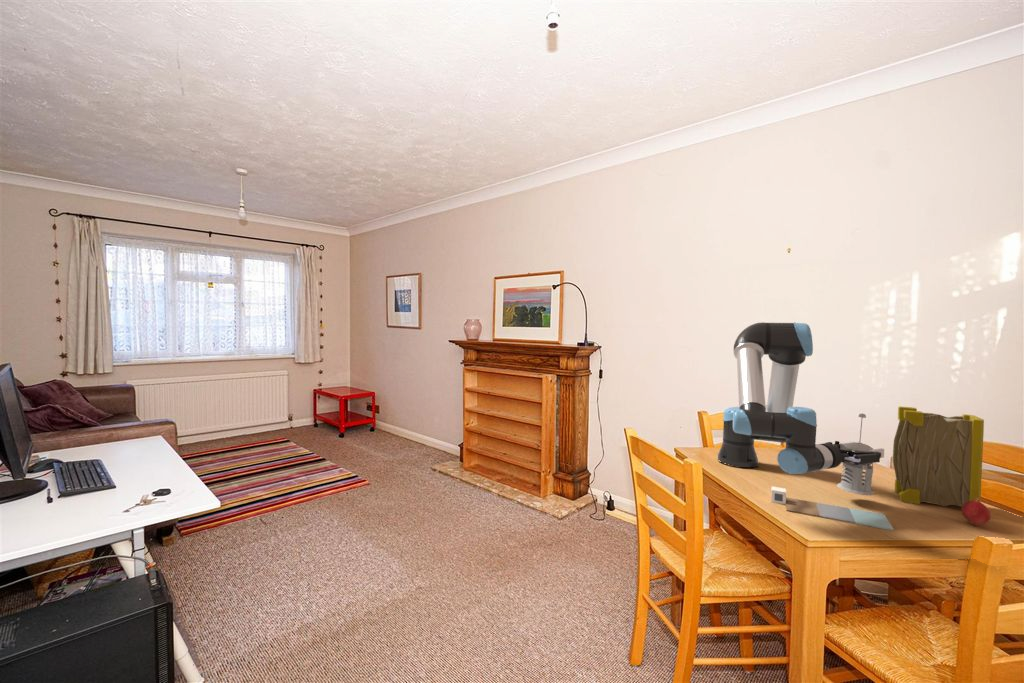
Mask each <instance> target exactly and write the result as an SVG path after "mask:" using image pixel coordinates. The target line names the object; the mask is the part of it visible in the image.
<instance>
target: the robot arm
mask: <svg viewBox="0 0 1024 683" xmlns="http://www.w3.org/2000/svg"><path fill="white" fill-rule="evenodd" d="M812 335H813V334H812V331H811V327H810V325H809V324H807V323H804V322H795V321H794V322H763V321H762V322H757V323H753V324H751V325H748V326H747V327H745V328H744V329H743V330H742V331H741V332H740V333H739V334H738V336H736V339H735V342H734V344H733V356H734V358H735V359H736V361H737V362H736V364H737V387H738V390H737V391H738V406H731V407H728V408H726V409H725V410H723V418H722V421H723V425H722V426H723V428H722V444H721V446H720V449H719V451H718V453H717V461H718V460H720V461H721V462H723V463H726V464H729V465H733V466H738V467H737V468H740V467H748V468H747V469H750V468H749V467H754V468H757V467H758V466H759V458H758V455H757V451H756V449H755V440H756V441H765V442H773V443H782V444H783V443H785V447H784V449H781V450H780V451H779V452H778V454H777V457H776V459H777V464H778V466H779V467H780V469H781V470H782V471H783V472H785V473H787V474H790V475H804V474H806V473H811V472H813V473H817V471H822V470H828V469H829V470H830V469H834V468H837V467H839V466H840V465H841V464H842V463H843V462H852V461H854V464H856V465H859V464H864V463H873V464H875V463H880V462H881V460H880V459H882V458H885V448H883V447H882V448H881V447H880V448H875V449H874V448H873V449H874V450H869V452H861V451H852V450H849V449H846V448H845V447H844V445H845V444H847V443H853V442H854V441H847V442H842V443H840V441H839V440H835V441H834V444H833V442H832V441H828V442H824V443H819V444H816V440H817V427H818V424H817V422H818V421H817V412H816V410H814V409H812V408H809V407H804V406H794V401H795V395H796V388H797V384H798V383H797V382H798V377H799V369H800V365H801V364H803V363H804V362H806V357H810V356H813V352H814V346H813V336H812ZM764 355H765V356H767V357H768V358H769V360H770V361H772V363H771V370H770V378H769V379H770V380H769V388H768V395H767V403H766V396H765V394H766V393H765V386H764V385H765V384H764V383H765V382H764V375H763V362H762V358H763V357H764ZM729 465H728V466H729ZM733 466H732V467H733ZM756 466H757V467H756Z"/></svg>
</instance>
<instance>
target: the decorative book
mask: <svg viewBox="0 0 1024 683" xmlns="http://www.w3.org/2000/svg"><path fill="white" fill-rule="evenodd" d="M897 420H899V421H898V425H897V428H896V432H895V435H894V439H893V444H892V446H893V447H892V464H893V470H894V474H895V479H894V493H896V494H897V495H899V499H900V501H901V503H908V504H913V505H921V502H923V503H930V504H934V505H938V506H942V507H947V506H950V505H951V506H952V505H954V506H957V507H958V506H959V507H960V508H962V506H963V505H964V504H965V503H967V502H969V501H972V500H974V499H976V498H978V499H979V500H980V501H981V494H982V477H983V476H982V474H983V473H982V472H983V469H982V468H983V454H984V452H983V451H984V432H985V431H984V428H985V420H984V419H983V418H981V417H979V416H976V415H972V414H965V413H964V414H962V415H958V416H957V415H956V416H944V415H941V414H938V413H931V412H923V411H920V410H919V411H918V409H917V408H916V407H913V406H912V407H910V406H898V408H897Z"/></svg>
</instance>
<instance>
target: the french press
mask: <svg viewBox="0 0 1024 683" xmlns="http://www.w3.org/2000/svg"><path fill="white" fill-rule="evenodd" d="M858 417H859V418H861V422H860V430H859V431H860V432H859V442H856V441H852V442H853V443H847V442H846V443H847V444H845V445H844V447H845V448H846V449H849V450H852V451H861V452H869V450H874V448H873V447H871V446H870V445H868V444H866V443H863V442H861V439H862V427H863V419H866V417H867V415H866V414H865V413H859V414H858ZM841 472H842V473H841V479H840V480H841V481H840V482H839V483H837V485H836V486H837V487H838V488H839V489H841V490H843V491H844V492H848V493H852V494H855V495H860V496H873V495H875V494H876V493H875V492H874V490H873V489H872V482H873V481H872V480H873V473H874V463H864V464H859V465H856V464H854V461H852V462H842V469H841Z"/></svg>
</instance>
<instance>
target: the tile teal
mask: <svg viewBox="0 0 1024 683" xmlns="http://www.w3.org/2000/svg"><path fill="white" fill-rule="evenodd" d="M848 508H849V509H850V511H851V514H852V516H853V518H854V520H855V523H854V524H856V525H861V526H867V527H872V528H876V529H883V530H887V531H894V528H893V526H892V525H891V523H890V521H889V520H888V518H887V517H886V515H885V514H884V513H881V512H873V511H868V510H862V509H858V508H857V509H856V508H850V507H848Z"/></svg>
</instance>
